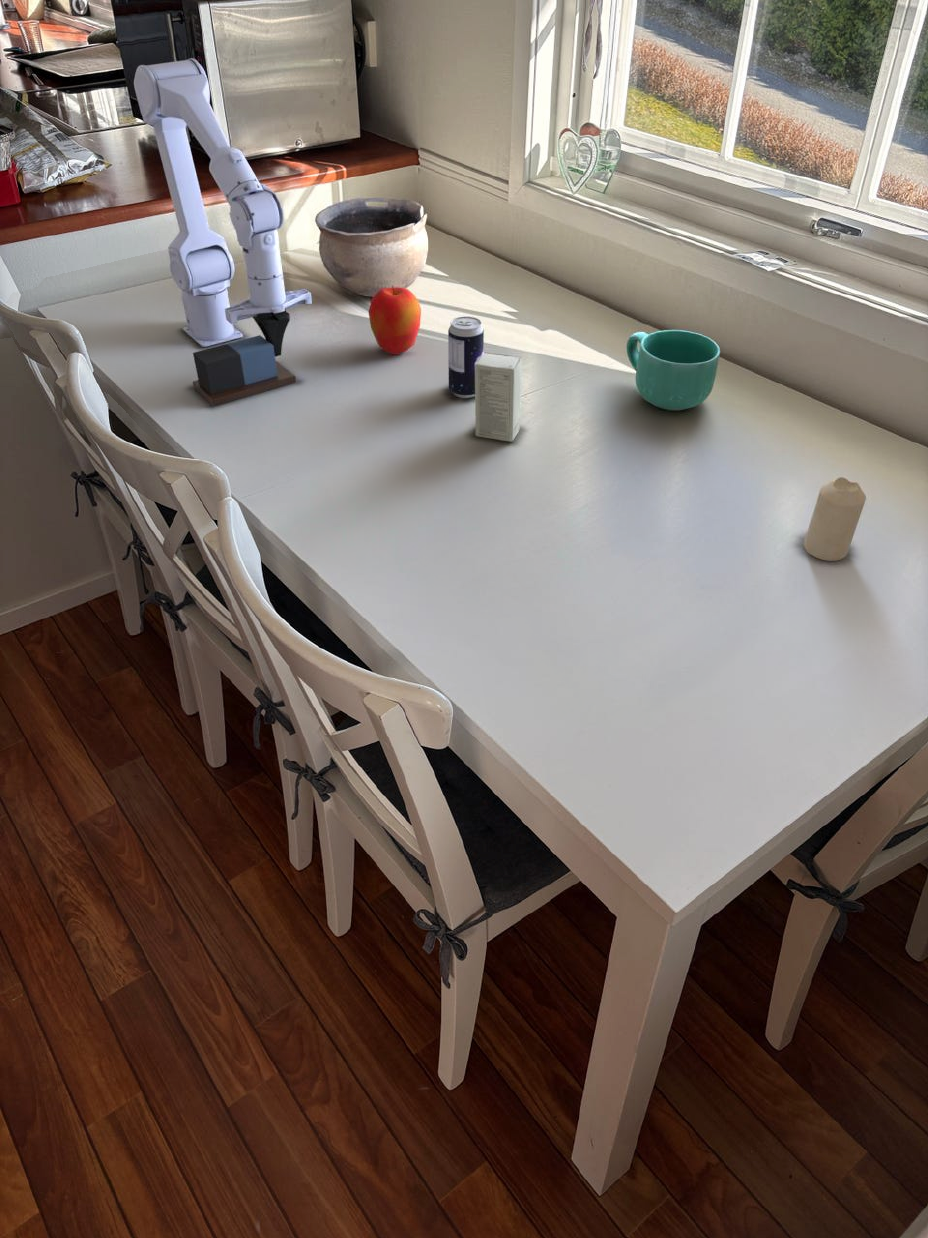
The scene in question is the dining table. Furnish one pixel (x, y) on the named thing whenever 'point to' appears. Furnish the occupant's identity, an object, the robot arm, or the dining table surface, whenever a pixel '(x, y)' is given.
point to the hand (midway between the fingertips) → (275, 353)
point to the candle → (834, 519)
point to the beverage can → (464, 354)
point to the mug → (673, 367)
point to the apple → (395, 319)
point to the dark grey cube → (219, 369)
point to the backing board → (248, 387)
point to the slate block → (256, 359)
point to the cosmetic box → (497, 396)
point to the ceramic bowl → (373, 243)
